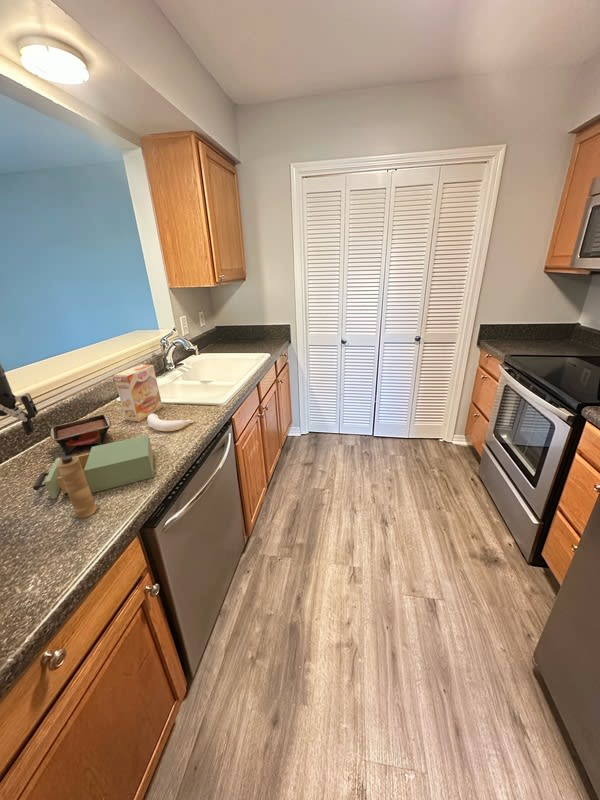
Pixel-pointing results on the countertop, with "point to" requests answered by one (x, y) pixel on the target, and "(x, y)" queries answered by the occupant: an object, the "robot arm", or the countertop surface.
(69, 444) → the baking dish
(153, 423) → the banana
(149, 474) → the cabinet
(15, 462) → the countertop surface
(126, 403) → the coffeecake box
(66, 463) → the pepper mill
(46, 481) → the drawer
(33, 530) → the countertop surface
